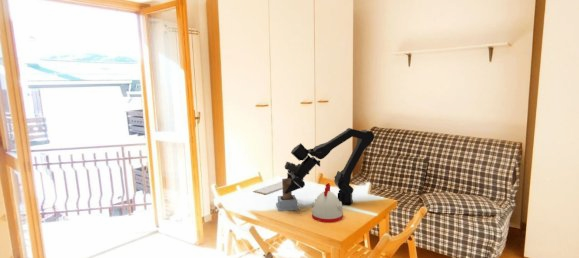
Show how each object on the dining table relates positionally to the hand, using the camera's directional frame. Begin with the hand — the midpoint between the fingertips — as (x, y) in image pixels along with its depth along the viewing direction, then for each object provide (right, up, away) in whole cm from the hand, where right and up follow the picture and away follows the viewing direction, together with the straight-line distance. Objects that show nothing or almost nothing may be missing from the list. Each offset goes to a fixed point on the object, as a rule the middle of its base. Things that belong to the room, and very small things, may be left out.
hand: (284, 190), depth 159 cm
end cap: (+2, -8, +1) cm, 9 cm away
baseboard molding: (-5, -6, +37) cm, 37 cm away
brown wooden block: (+2, -7, +1) cm, 8 cm away
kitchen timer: (+20, -10, -12) cm, 25 cm away
